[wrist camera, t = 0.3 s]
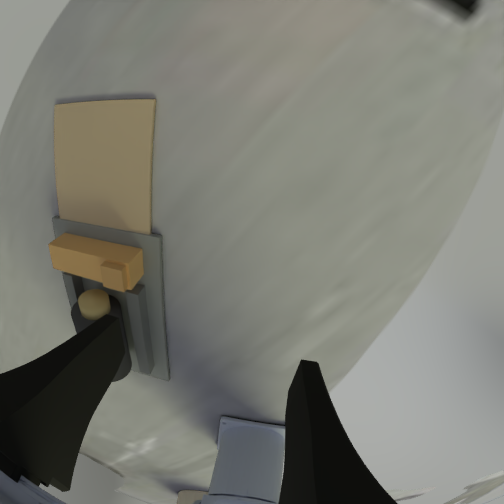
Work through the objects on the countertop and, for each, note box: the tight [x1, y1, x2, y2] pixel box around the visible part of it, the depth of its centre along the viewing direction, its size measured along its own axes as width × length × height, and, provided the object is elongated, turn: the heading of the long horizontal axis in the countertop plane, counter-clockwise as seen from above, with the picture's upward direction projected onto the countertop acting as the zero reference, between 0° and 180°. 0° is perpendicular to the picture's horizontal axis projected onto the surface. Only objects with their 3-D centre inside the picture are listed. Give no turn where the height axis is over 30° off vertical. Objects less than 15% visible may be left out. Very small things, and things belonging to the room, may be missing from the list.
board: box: [52, 99, 170, 381], centre depth 20 cm, size 24×10×2 cm, turn 172°
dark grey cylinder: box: [71, 289, 132, 382], centre depth 21 cm, size 7×4×4 cm, turn 172°
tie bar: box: [48, 233, 144, 292], centre depth 18 cm, size 2×7×3 cm, turn 82°
